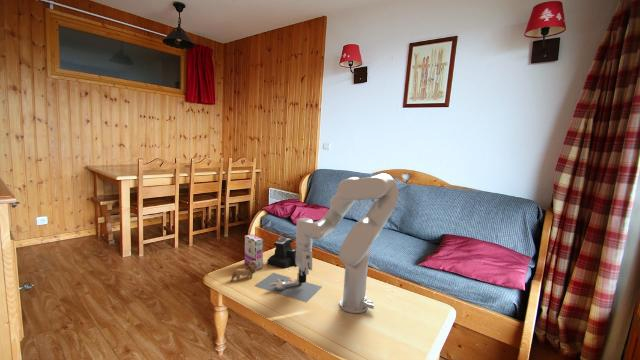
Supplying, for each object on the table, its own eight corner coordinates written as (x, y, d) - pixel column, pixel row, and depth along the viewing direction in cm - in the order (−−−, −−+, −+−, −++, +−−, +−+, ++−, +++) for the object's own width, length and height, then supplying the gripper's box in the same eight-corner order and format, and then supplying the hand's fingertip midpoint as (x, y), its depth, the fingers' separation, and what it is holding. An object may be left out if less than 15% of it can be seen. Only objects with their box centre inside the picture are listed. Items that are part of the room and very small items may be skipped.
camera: (282, 233, 187) (304, 235, 181) (283, 256, 189) (305, 260, 182) (266, 241, 173) (289, 244, 167) (267, 266, 175) (291, 270, 168)
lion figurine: (254, 275, 162) (254, 258, 160) (259, 279, 158) (259, 262, 156) (227, 283, 152) (227, 265, 151) (232, 287, 148) (232, 269, 147)
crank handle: (272, 293, 141) (272, 283, 141) (267, 287, 147) (267, 276, 146) (305, 286, 150) (305, 276, 149) (299, 280, 155) (299, 270, 154)
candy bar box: (263, 268, 170) (263, 239, 167) (255, 271, 166) (255, 241, 164) (251, 261, 177) (252, 233, 175) (243, 263, 174) (244, 235, 171)
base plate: (322, 289, 151) (322, 286, 151) (306, 304, 137) (306, 302, 136) (273, 274, 163) (273, 272, 163) (254, 288, 149) (254, 285, 148)
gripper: (318, 249, 140) (316, 288, 143) (305, 238, 154) (303, 274, 157) (302, 251, 137) (301, 291, 140) (290, 240, 150) (289, 276, 153)
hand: (302, 282), depth 148 cm, fingers closed
